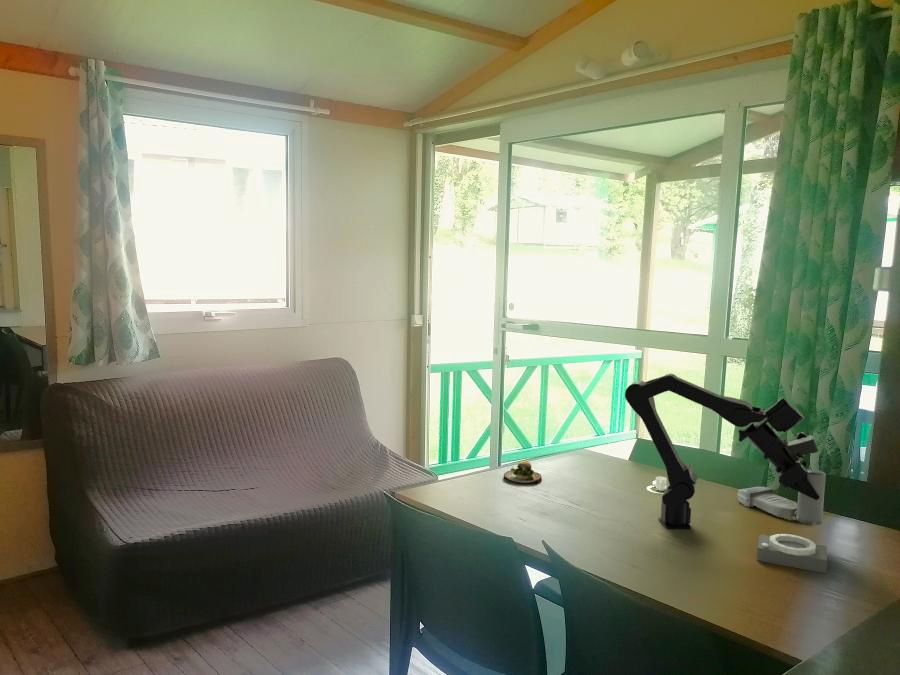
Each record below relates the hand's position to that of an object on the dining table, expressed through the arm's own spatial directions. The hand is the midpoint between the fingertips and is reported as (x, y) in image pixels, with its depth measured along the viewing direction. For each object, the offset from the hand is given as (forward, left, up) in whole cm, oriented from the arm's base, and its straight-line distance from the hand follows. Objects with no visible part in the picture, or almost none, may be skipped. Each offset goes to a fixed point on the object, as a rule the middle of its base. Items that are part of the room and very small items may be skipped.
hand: (817, 495), depth 163 cm
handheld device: (+4, +25, -13) cm, 29 cm away
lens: (-1, +1, -7) cm, 7 cm away
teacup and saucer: (-19, +44, -14) cm, 50 cm away
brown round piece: (-62, +53, -13) cm, 83 cm away
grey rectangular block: (-9, -7, -13) cm, 17 cm away
